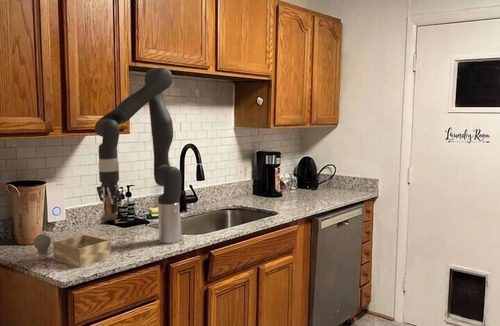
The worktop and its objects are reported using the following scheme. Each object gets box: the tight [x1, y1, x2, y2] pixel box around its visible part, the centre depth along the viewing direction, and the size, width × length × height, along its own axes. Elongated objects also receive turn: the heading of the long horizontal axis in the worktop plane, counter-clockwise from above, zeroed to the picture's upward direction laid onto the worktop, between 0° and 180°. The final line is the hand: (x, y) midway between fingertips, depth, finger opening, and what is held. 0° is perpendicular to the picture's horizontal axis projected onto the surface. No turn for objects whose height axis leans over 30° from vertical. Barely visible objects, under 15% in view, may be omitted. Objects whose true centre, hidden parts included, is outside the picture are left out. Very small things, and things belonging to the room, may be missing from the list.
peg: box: [105, 195, 117, 221], centre depth 191 cm, size 3×3×10 cm
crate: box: [52, 234, 112, 268], centre depth 185 cm, size 14×16×7 cm
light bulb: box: [33, 233, 52, 261], centre depth 184 cm, size 6×6×10 cm
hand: (110, 212), depth 191 cm, fingers closed on peg, 3 cm apart
